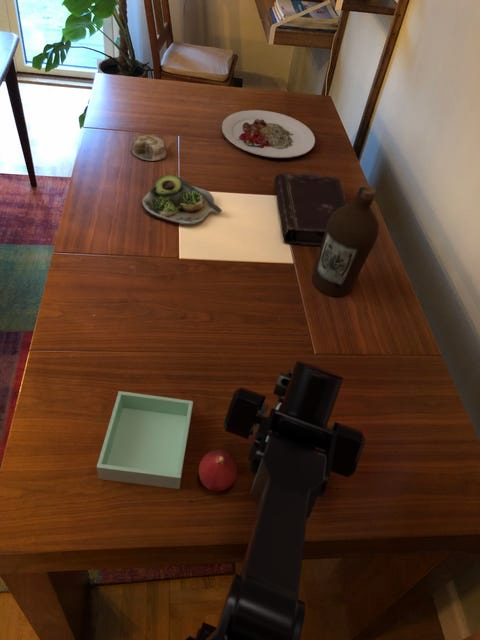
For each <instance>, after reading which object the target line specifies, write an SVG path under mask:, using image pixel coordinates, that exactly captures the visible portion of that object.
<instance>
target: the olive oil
mask: <svg viewBox="0 0 480 640" xmlns="http://www.w3.org/2000/svg"><path fill="white" fill-rule="evenodd" d="M376 192H377V190H376V189H375V188H374V187H373V186H371V185H369V184H362V185H360V186H359V188H358V191H357V192H356V195H355V197H354V200H353V202H350V203H347V205H345V206H342V207H340V208H338V209H337V210H336V211H335V212H334V213H333V214H332V215H331V217H330V218H329V220H328V222H327V226H326V230H325V233H324V237H323V241H322V245H321V246H320V248H319V253H318V256H317V259H316V263H315V267H314V270H313V273H312V279H311V281H312V284H313V286H314V287H315V288H316V289H317V290H318V291H319V292H320V293H322V294H324V295H326V296H329V297H334V298H338V297H339V298H341V297H345V296H347V295H349V294H350V293H351V291H352V290H353V288H354V285H355V283H356V281H357V279H358V277H359V276H360V273H361V271H362V269H363V267H364V265H365V263H366V261H367V259H368V257H369V255H370V254H371V251H372V249H373V248H374V245H375V243H376V242H377V239H378V237H379V228H380V227H379V222H378V218H377V217H376V215H375V214H374V211H373V210H372V208H371V205H372V204H373V201H374V199H375V195H376Z"/></svg>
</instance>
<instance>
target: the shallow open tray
mask: <svg viewBox="0 0 480 640" xmlns="http://www.w3.org/2000/svg"><path fill="white" fill-rule="evenodd" d="M193 407H194V401H193V400H188V399H181V398H173V397H165V396H158V395H152V394H143V393H136V392H128V391H123V390H118V392H117V396H116V400H115V403H114V406H113V409H112V413H111V416H110V420H109V422H108V426H107V431H106V433H105V437H104V441H103V444H102V448H101V451H100V454H99V458H98V461H97V464H96V471H97V476H98V479H99V480H104V481H111V482H119V483H126V484H136V485H143V486H150V487H151V486H152V487H157V488H158V487H159V488H166V489H175V490H180V488H181V482H182V476H183V470H184V463H185V458H186V452H187V445H188V439H189V433H190V426H191V421H192V415H193Z"/></svg>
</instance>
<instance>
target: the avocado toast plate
mask: <svg viewBox="0 0 480 640" xmlns="http://www.w3.org/2000/svg"><path fill="white" fill-rule="evenodd" d="M140 201H141V202H140V203H141V206H142V208H143V210H144V211H145V212H146V213H147V214H148V215H150V216H152V217H153V218H156V219H160V220H163V221H165V222H171V223H176V224H180V225H186V226H189V225H190V226H191V225H196V224H200V223H202V222H203V221H204V220H205V219H206V218H207V217H208V215H209V214H210V213H212V212H213V213H214V212H215V213H219V214H220V213H222V212H223V209H222V208H220V206H218V205H217V204H216V203H215V197H214V196H213V194H212V193H211V192H210V191H209V190H206V189H203V188H199V187H197V186H194V185H191V184H189V183H188V182H187V181H186V180H185V179H183V178H181V177H180V176H176V175H173V174H166V175H163V176H160V177H159V178H158V179H157V180H156V181H155V182H154V186H153V187H152V188H151V190H149V192H147V194H146V195H145V196H144V197H143V198H142V199H141V200H140Z"/></svg>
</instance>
